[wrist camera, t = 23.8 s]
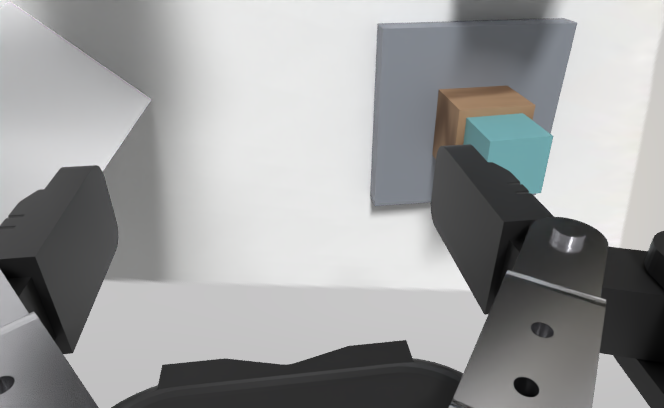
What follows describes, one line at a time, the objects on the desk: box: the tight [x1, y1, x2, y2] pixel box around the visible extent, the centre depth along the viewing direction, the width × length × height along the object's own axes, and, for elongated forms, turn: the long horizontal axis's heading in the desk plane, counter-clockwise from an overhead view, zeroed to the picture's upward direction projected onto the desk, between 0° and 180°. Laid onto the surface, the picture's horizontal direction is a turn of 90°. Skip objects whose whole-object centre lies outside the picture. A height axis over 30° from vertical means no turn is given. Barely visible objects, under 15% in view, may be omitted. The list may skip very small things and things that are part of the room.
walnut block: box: [432, 86, 536, 159], centre depth 41 cm, size 6×6×5 cm
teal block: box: [463, 113, 553, 194], centre depth 37 cm, size 4×4×4 cm
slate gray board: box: [370, 18, 577, 206], centre depth 44 cm, size 16×16×2 cm
